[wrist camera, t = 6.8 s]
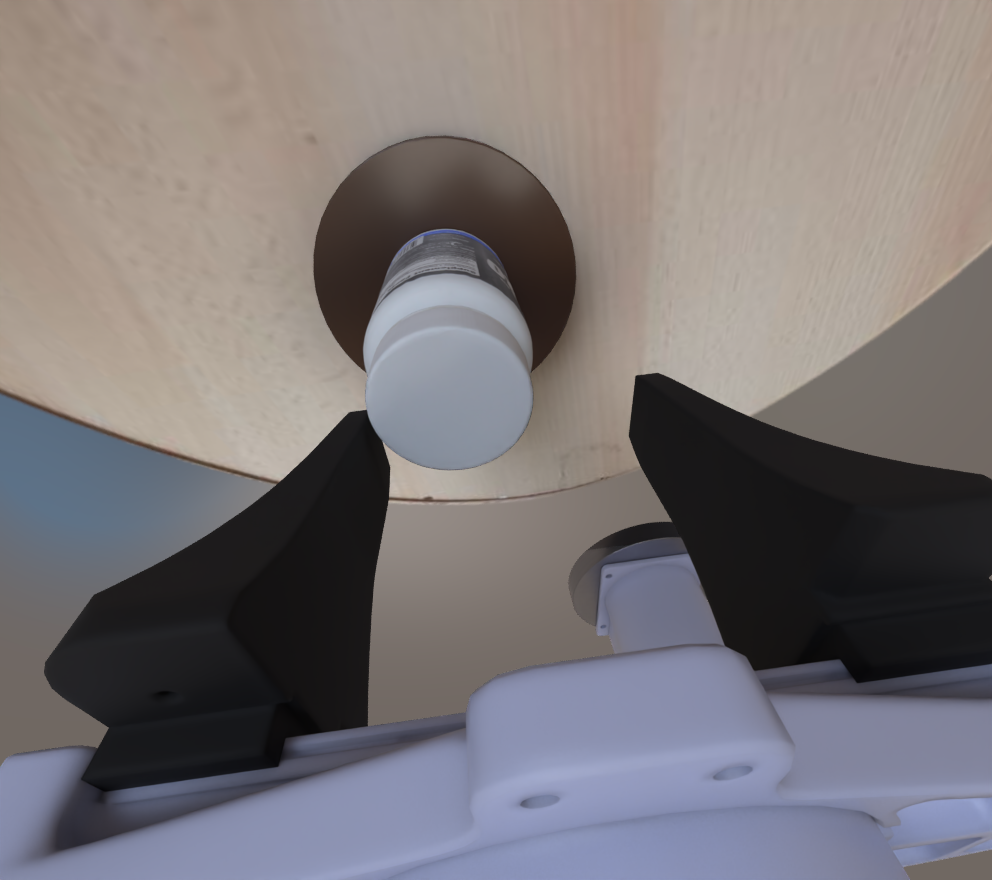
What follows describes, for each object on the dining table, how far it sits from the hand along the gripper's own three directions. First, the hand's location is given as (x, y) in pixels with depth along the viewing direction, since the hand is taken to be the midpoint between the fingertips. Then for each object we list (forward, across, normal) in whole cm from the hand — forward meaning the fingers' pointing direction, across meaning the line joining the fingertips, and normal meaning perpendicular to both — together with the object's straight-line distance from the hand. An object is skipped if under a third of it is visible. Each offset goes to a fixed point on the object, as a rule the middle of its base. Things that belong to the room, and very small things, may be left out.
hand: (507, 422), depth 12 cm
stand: (+10, +1, -1) cm, 10 cm away
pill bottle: (+7, +1, -2) cm, 8 cm away
